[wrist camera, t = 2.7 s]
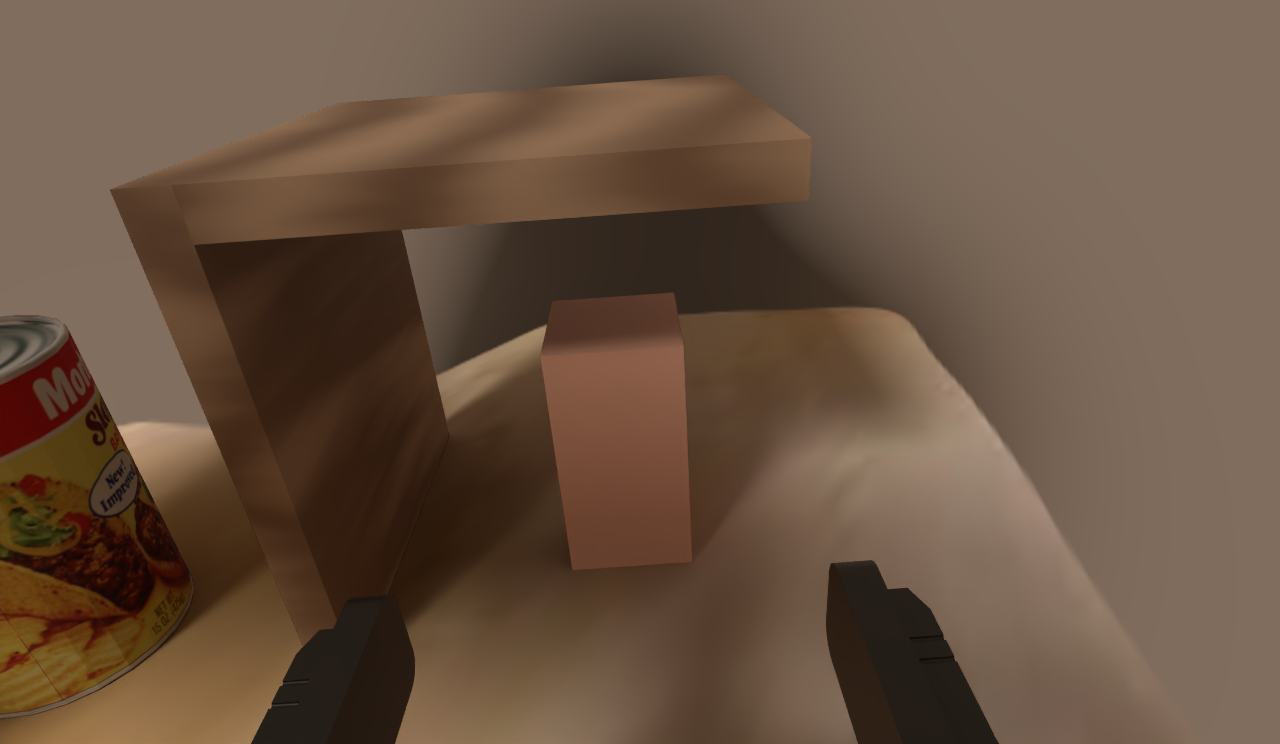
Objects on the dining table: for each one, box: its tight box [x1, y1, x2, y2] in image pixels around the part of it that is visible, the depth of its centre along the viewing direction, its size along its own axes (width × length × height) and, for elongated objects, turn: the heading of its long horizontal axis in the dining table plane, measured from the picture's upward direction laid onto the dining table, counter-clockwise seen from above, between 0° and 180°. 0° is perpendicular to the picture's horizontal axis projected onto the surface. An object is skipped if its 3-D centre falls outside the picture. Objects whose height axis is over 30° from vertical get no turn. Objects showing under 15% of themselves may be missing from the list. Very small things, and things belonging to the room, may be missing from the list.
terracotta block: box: [540, 293, 692, 570], centre depth 29 cm, size 5×5×10 cm
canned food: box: [0, 315, 194, 719], centre depth 25 cm, size 8×8×12 cm
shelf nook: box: [110, 75, 812, 646], centre depth 28 cm, size 17×16×18 cm
